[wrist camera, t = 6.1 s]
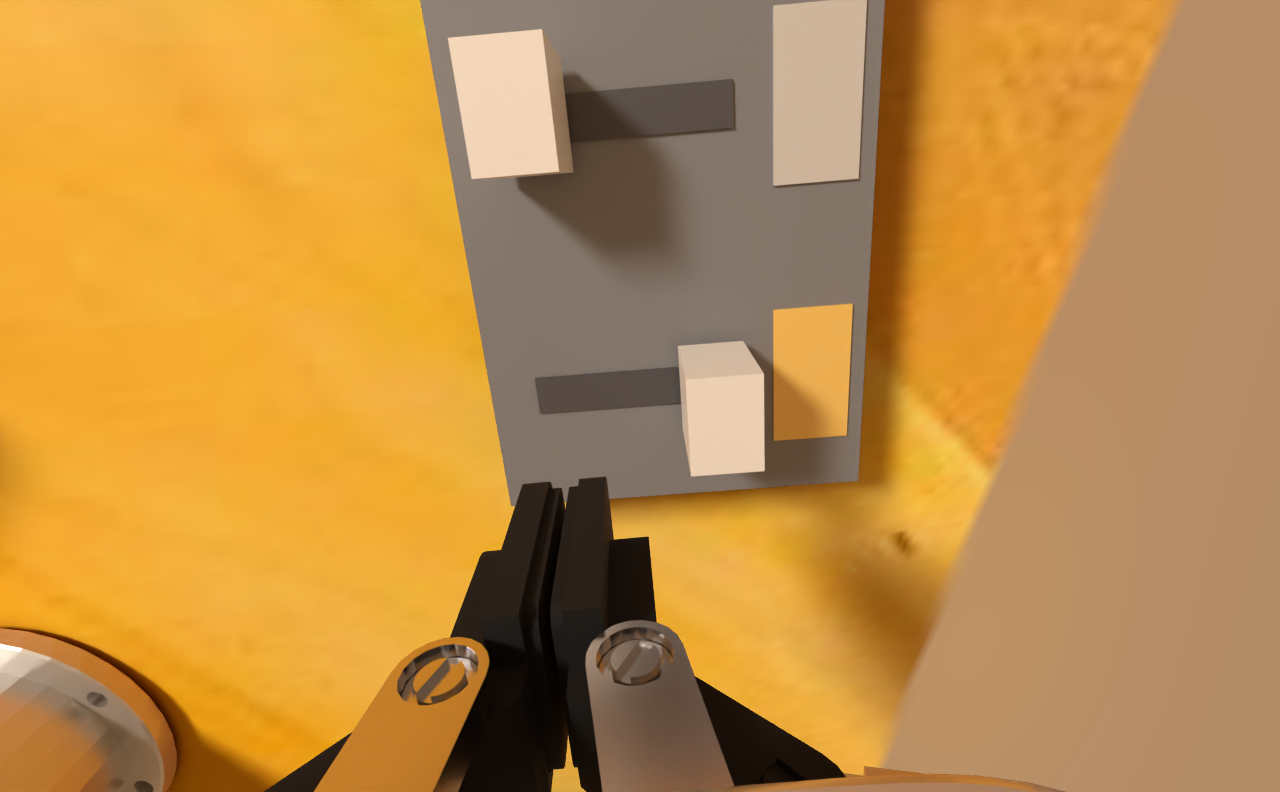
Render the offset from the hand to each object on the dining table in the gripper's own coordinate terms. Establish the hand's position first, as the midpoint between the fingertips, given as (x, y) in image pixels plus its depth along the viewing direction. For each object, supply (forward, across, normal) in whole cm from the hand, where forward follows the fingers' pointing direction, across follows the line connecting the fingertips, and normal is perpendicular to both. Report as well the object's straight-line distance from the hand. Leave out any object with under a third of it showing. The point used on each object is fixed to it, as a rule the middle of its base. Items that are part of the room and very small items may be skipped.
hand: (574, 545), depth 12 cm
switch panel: (+10, -3, -9) cm, 14 cm away
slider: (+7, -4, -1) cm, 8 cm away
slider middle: (+7, +1, -9) cm, 11 cm away
